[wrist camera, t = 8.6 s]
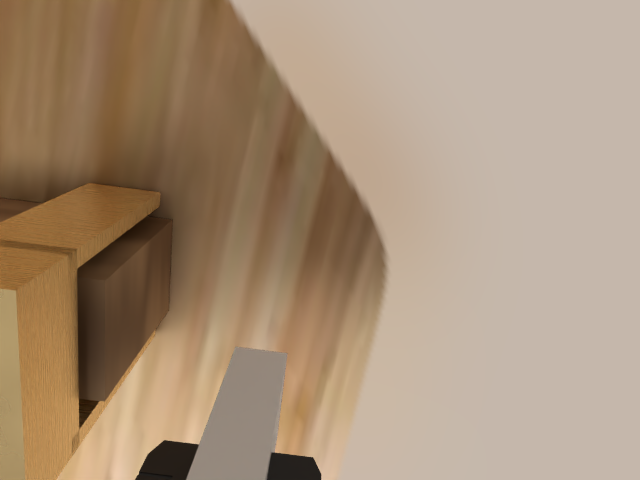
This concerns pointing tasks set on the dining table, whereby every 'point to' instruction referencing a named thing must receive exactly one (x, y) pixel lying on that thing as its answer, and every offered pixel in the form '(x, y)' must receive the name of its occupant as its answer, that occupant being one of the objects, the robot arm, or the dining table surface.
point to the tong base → (121, 303)
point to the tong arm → (14, 207)
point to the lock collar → (52, 323)
